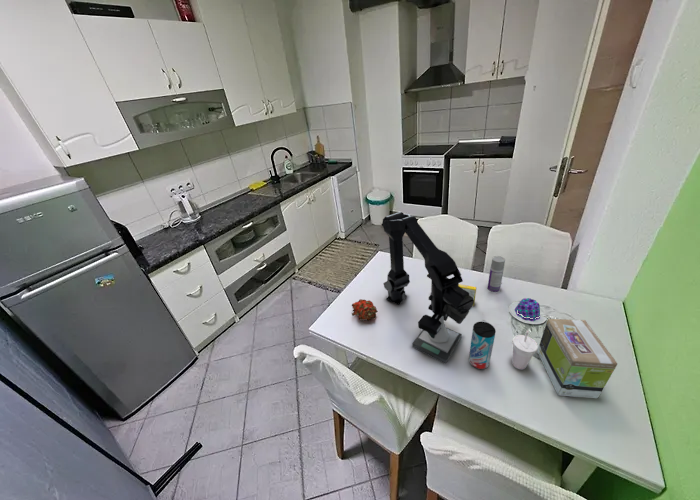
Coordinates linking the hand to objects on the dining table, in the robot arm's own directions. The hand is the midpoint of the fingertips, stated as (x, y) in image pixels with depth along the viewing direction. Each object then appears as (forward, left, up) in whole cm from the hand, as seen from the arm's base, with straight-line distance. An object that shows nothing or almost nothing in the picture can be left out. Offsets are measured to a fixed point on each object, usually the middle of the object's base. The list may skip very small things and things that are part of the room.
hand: (439, 328), depth 94 cm
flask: (0, 0, -4) cm, 4 cm away
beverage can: (+14, -1, -6) cm, 15 cm away
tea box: (+35, +9, -6) cm, 37 cm away
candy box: (-4, +22, -6) cm, 23 cm away
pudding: (+21, +29, -6) cm, 36 cm away
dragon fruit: (-29, -5, -6) cm, 30 cm away
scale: (0, -1, -6) cm, 6 cm away
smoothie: (+24, +5, -6) cm, 25 cm away
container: (+7, +37, -6) cm, 38 cm away
